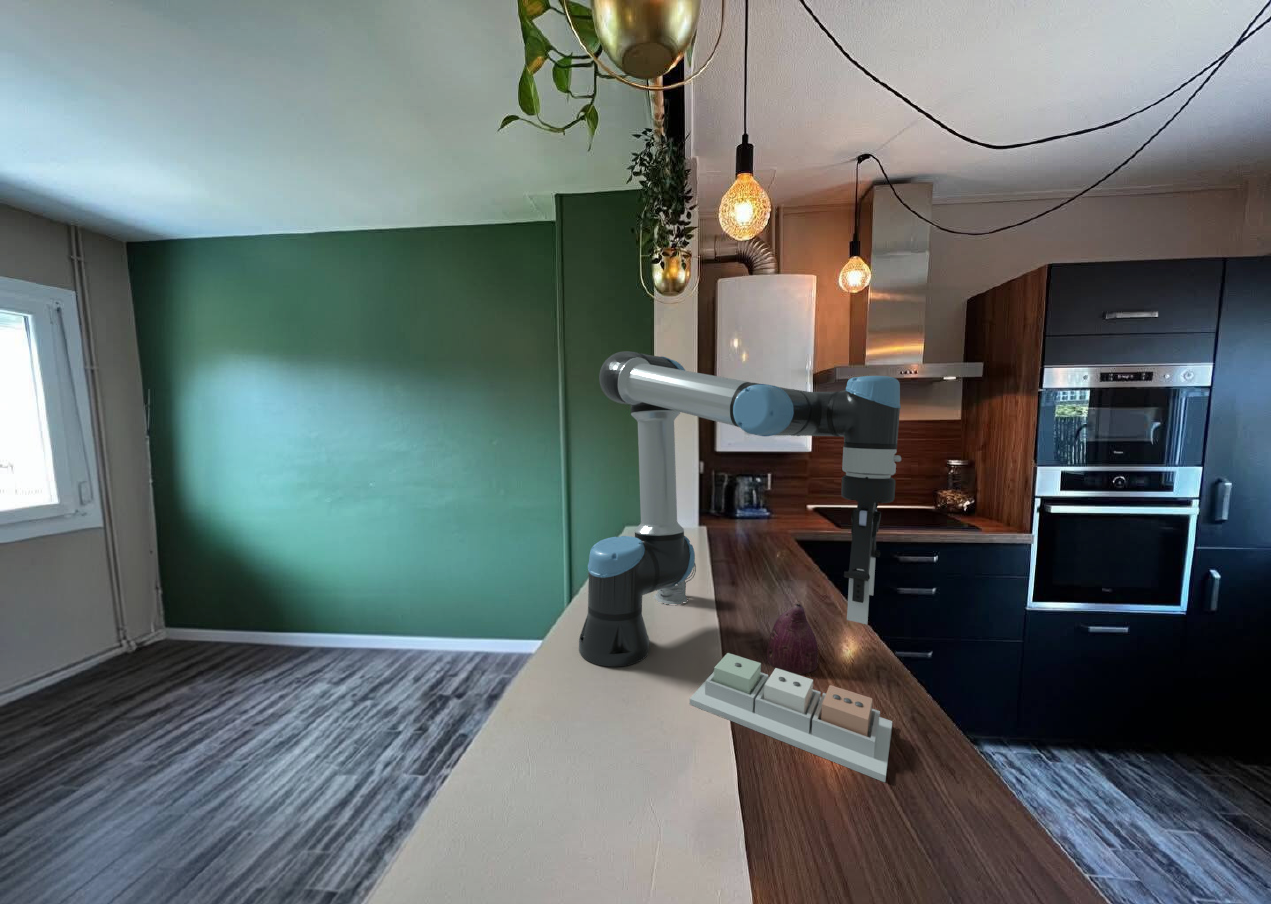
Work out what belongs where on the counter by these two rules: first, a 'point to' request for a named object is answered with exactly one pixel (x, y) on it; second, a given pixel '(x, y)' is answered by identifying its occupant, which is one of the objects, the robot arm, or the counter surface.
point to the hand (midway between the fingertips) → (861, 606)
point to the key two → (789, 690)
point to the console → (801, 726)
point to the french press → (674, 592)
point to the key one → (737, 673)
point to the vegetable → (793, 643)
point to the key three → (847, 710)
